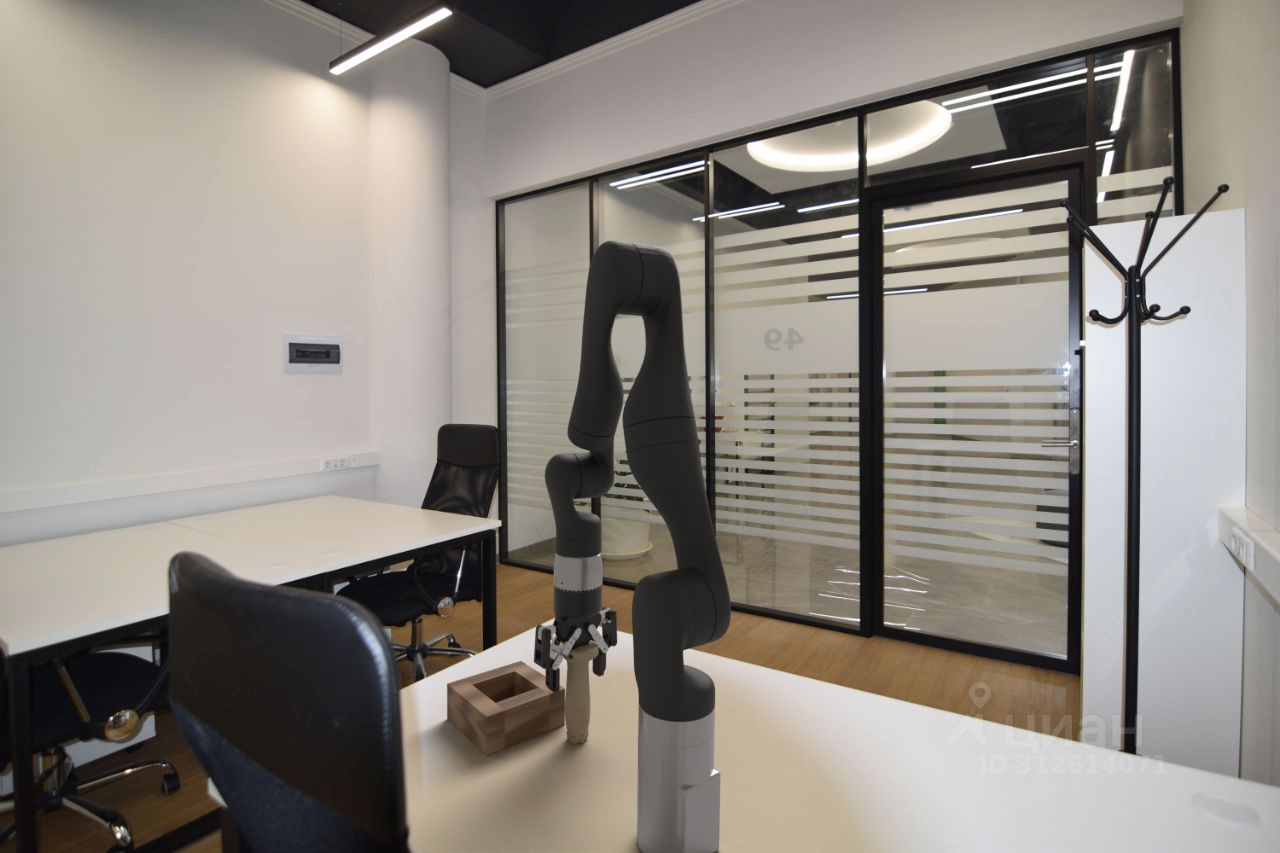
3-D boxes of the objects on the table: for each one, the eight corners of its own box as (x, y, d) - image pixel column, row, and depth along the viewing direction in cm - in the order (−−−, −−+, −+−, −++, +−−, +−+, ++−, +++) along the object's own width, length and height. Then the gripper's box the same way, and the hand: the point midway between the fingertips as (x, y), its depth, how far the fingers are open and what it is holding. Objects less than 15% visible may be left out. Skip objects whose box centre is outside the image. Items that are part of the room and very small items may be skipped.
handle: (588, 751, 95) (589, 655, 94) (551, 742, 97) (552, 648, 97) (602, 736, 100) (603, 643, 99) (566, 727, 102) (567, 637, 101)
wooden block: (564, 724, 103) (564, 688, 103) (486, 755, 94) (486, 716, 93) (521, 693, 113) (521, 660, 113) (447, 718, 104) (447, 683, 104)
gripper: (552, 596, 90) (551, 706, 91) (628, 578, 99) (626, 677, 100) (525, 583, 95) (524, 687, 96) (599, 567, 105) (598, 661, 106)
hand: (576, 682), depth 98 cm, fingers open, 8 cm apart
